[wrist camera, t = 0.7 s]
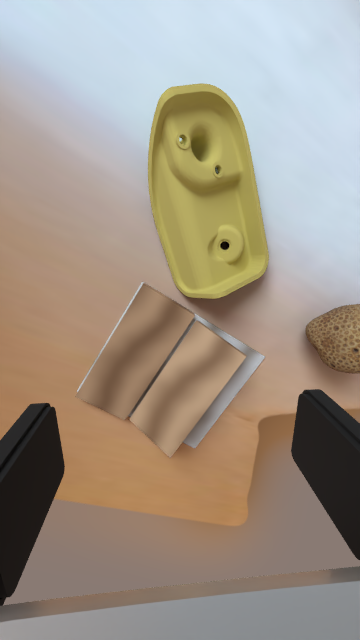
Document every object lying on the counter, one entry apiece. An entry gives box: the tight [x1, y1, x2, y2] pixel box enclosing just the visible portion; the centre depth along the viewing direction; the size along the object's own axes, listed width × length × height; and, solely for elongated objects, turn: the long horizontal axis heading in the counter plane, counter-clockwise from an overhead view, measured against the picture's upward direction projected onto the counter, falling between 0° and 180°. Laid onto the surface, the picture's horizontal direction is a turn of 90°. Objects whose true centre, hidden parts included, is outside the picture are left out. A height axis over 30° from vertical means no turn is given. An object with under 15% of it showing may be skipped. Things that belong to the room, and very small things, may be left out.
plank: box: [129, 320, 247, 458], centre depth 35 cm, size 8×18×1 cm, turn 147°
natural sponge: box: [306, 304, 360, 373], centre depth 32 cm, size 9×9×10 cm
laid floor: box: [75, 282, 265, 448], centre depth 37 cm, size 21×19×1 cm
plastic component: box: [148, 84, 269, 299], centre depth 30 cm, size 20×7×10 cm
